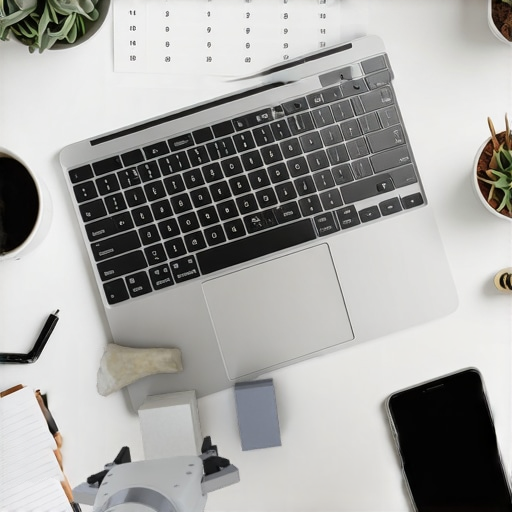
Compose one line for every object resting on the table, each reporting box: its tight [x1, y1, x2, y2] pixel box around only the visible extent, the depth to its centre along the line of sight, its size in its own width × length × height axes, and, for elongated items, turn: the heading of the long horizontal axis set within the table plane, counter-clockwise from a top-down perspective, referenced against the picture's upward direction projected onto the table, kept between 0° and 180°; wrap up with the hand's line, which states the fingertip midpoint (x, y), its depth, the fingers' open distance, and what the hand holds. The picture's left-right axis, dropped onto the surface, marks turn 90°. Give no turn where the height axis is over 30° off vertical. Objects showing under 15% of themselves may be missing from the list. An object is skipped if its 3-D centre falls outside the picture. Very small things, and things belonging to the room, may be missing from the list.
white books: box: [141, 389, 203, 455], centre depth 72 cm, size 8×6×4 cm
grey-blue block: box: [233, 378, 282, 452], centre depth 72 cm, size 8×5×3 cm, turn 8°
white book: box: [137, 399, 199, 460], centre depth 69 cm, size 8×6×2 cm
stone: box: [96, 342, 184, 398], centre depth 71 cm, size 11×6×5 cm, turn 108°
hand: (168, 453), depth 66 cm, fingers open, 9 cm apart
